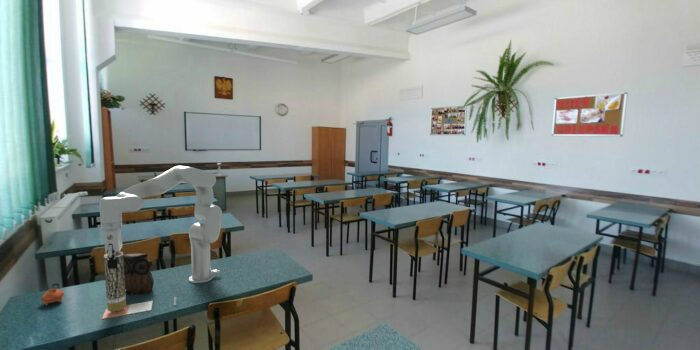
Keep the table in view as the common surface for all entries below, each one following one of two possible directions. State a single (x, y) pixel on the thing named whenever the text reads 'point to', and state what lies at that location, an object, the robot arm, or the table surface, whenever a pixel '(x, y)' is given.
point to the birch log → (115, 284)
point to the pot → (52, 296)
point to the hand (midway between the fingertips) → (114, 264)
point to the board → (131, 309)
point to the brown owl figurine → (137, 274)
